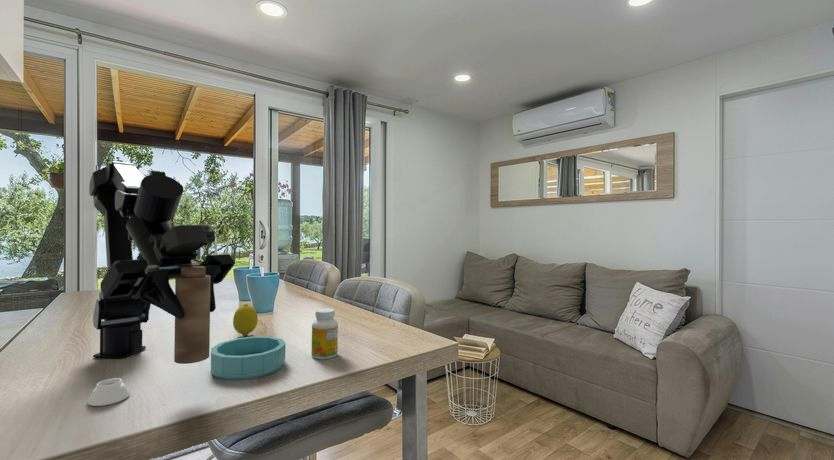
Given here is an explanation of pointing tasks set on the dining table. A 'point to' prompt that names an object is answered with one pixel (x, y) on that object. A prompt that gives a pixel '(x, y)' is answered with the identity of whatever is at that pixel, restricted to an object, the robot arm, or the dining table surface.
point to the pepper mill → (192, 315)
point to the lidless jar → (108, 392)
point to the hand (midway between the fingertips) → (198, 313)
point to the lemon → (245, 319)
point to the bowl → (247, 357)
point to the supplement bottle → (324, 334)
